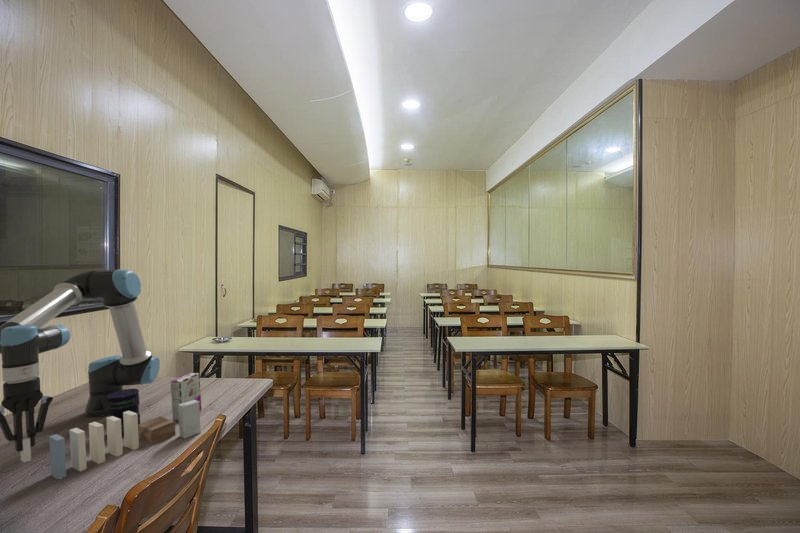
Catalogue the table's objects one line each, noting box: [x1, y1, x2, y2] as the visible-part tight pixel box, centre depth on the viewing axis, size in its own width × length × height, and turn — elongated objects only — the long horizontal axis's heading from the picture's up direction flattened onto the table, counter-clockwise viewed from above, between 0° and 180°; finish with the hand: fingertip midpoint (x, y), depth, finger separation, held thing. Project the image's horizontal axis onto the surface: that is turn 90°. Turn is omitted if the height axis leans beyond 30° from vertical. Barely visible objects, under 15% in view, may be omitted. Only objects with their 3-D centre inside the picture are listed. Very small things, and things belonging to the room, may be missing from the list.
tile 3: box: [106, 416, 124, 457], centre depth 128 cm, size 6×2×12 cm, turn 60°
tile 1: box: [69, 427, 87, 472], centre depth 120 cm, size 6×2×12 cm, turn 60°
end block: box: [138, 416, 176, 445], centre depth 140 cm, size 10×8×5 cm
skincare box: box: [178, 400, 201, 439], centre depth 140 cm, size 6×4×12 cm
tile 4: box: [123, 411, 140, 451], centre depth 133 cm, size 6×2×12 cm, turn 60°
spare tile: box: [48, 433, 67, 480], centre depth 115 cm, size 6×2×12 cm, turn 60°
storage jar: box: [108, 388, 141, 437], centre depth 145 cm, size 10×10×15 cm
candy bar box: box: [170, 372, 202, 422], centre depth 159 cm, size 11×5×16 cm, turn 168°
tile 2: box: [88, 421, 106, 465], centre depth 124 cm, size 6×2×12 cm, turn 60°
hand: (26, 460), depth 109 cm, fingers closed
